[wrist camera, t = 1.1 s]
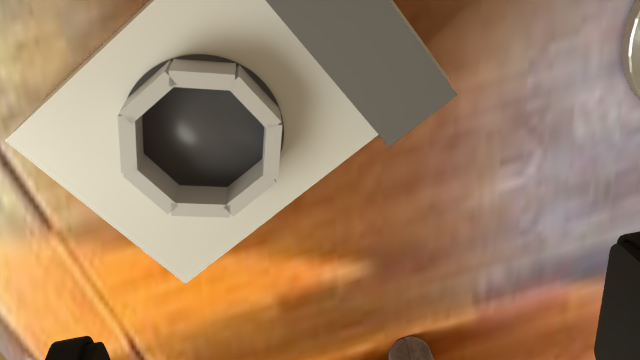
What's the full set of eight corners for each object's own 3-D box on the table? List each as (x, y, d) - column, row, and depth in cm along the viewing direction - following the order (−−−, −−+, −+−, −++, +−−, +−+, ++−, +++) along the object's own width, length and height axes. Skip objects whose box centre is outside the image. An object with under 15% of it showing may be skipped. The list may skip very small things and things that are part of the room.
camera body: (287, -131, 30) (300, -135, 23) (420, 50, 36) (463, 92, 29) (41, 101, 35) (-13, 158, 28) (193, 231, 40) (181, 307, 33)
